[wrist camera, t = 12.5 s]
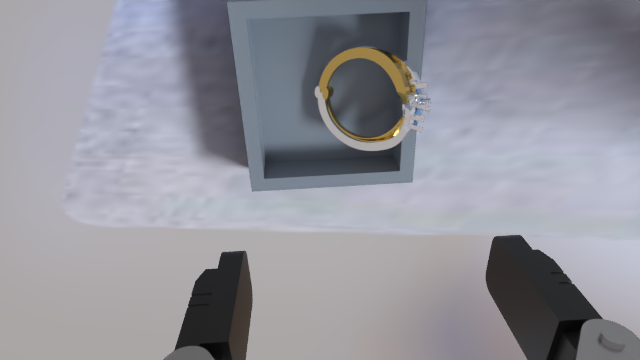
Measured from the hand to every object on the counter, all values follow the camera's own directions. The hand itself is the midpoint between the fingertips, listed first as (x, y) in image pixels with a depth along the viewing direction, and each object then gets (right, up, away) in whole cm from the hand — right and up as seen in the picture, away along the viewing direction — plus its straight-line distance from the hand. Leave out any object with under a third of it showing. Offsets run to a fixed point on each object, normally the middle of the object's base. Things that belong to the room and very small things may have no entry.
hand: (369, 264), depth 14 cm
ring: (-2, +9, +16) cm, 19 cm away
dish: (-1, +10, +17) cm, 20 cm away
